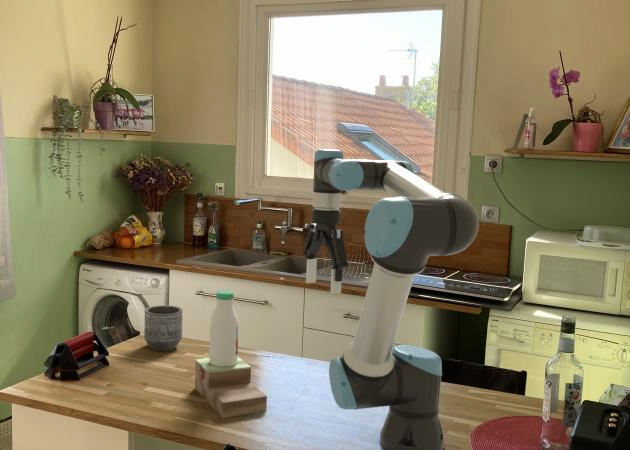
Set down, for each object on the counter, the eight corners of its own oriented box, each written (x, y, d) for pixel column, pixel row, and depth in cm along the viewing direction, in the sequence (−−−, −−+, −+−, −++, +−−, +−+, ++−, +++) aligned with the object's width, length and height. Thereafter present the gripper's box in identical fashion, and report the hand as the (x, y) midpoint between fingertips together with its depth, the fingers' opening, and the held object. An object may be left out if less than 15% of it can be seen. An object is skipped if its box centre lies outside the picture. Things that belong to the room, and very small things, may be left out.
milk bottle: (232, 369, 190) (234, 296, 187) (205, 366, 191) (206, 293, 189) (240, 360, 197) (242, 290, 195) (214, 357, 199) (216, 287, 196)
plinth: (268, 410, 184) (269, 379, 183) (220, 418, 178) (221, 386, 177) (237, 382, 203) (238, 354, 202) (193, 388, 197) (193, 359, 196)
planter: (187, 350, 230) (187, 312, 229) (150, 355, 224) (151, 316, 223) (174, 340, 241) (175, 303, 239) (139, 344, 235) (139, 306, 233)
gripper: (364, 213, 176) (359, 297, 179) (316, 203, 198) (313, 277, 201) (338, 214, 173) (334, 299, 175) (292, 203, 194) (289, 279, 197)
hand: (322, 287), depth 188 cm, fingers open, 13 cm apart
